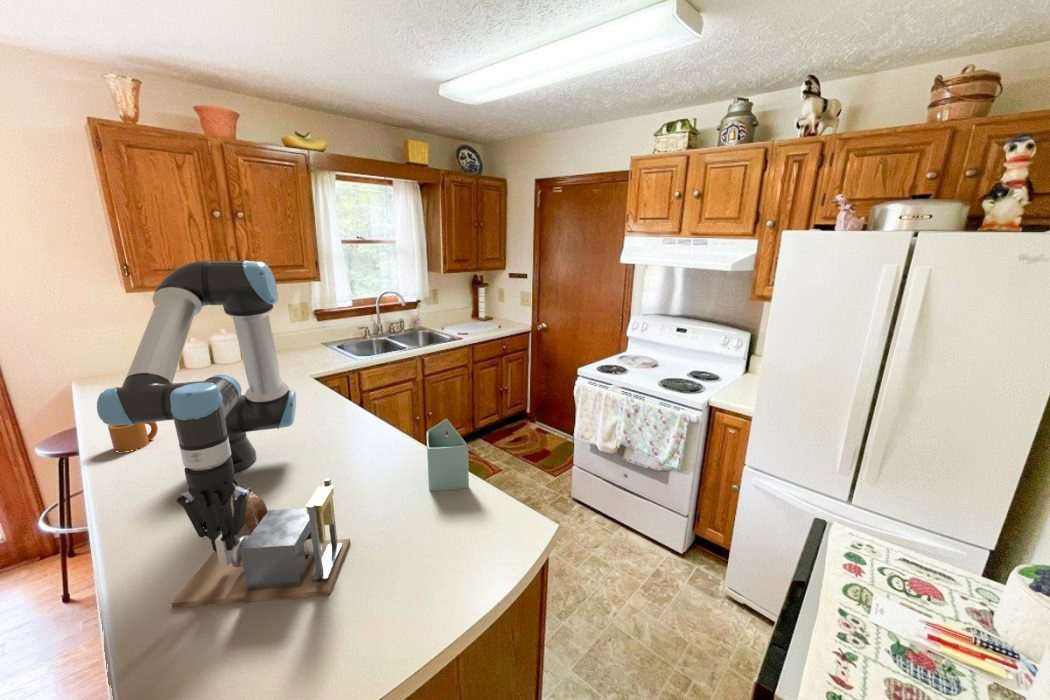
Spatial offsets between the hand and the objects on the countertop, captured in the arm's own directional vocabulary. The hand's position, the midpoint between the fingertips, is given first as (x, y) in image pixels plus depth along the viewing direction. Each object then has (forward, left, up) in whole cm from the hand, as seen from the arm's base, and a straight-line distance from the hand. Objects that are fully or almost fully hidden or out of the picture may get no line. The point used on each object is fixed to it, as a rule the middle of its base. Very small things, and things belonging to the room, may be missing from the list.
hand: (227, 561), depth 87 cm
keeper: (+20, 0, +6) cm, 21 cm away
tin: (-4, +17, -4) cm, 18 cm away
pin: (+11, 0, -1) cm, 11 cm away
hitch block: (+14, 0, -2) cm, 14 cm away
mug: (-63, +64, -4) cm, 90 cm away
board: (+8, 0, -4) cm, 9 cm away
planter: (+42, +31, -4) cm, 52 cm away
